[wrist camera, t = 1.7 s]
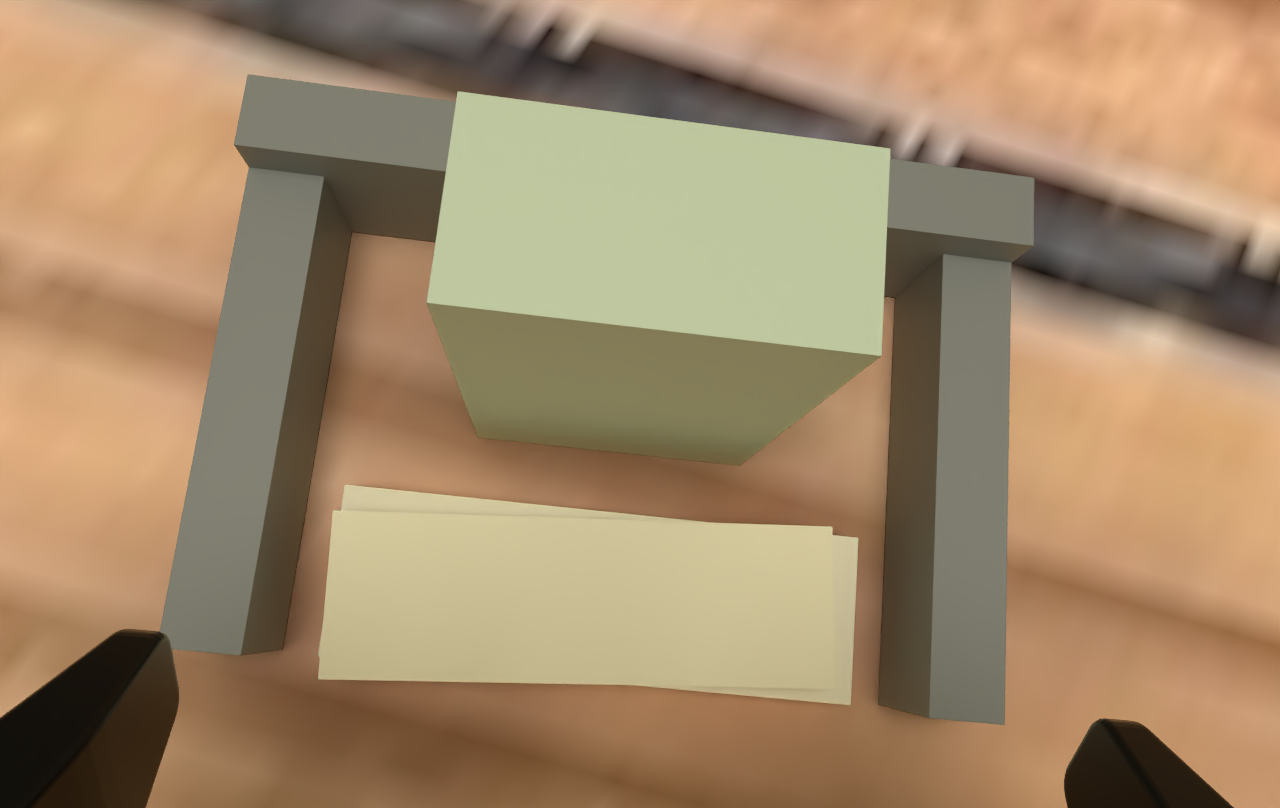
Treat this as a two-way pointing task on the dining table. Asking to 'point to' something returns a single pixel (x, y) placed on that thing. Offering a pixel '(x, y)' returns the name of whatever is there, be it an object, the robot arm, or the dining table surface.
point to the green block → (652, 277)
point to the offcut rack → (577, 538)
